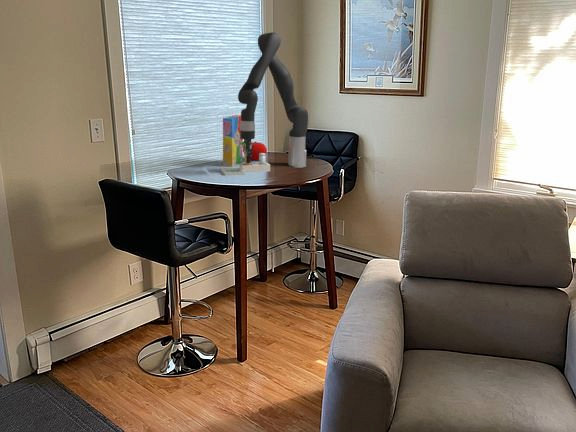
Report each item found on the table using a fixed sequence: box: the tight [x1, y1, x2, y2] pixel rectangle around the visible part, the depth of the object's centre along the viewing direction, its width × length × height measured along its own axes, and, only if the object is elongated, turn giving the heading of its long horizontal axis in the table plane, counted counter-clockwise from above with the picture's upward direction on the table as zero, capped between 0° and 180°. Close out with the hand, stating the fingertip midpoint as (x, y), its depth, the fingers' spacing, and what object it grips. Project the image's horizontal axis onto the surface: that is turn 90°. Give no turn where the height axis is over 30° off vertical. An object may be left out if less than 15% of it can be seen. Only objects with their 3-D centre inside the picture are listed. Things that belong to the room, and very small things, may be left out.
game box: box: [222, 114, 244, 168], centre depth 303 cm, size 21×6×27 cm, turn 168°
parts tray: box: [220, 167, 245, 176], centre depth 280 cm, size 10×10×2 cm
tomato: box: [249, 141, 268, 161], centre depth 323 cm, size 12×13×11 cm
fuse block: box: [239, 161, 271, 173], centre depth 287 cm, size 15×7×4 cm, turn 109°
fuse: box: [258, 153, 266, 165], centre depth 288 cm, size 3×3×9 cm
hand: (247, 162), depth 285 cm, fingers closed on blown fuse, 3 cm apart
